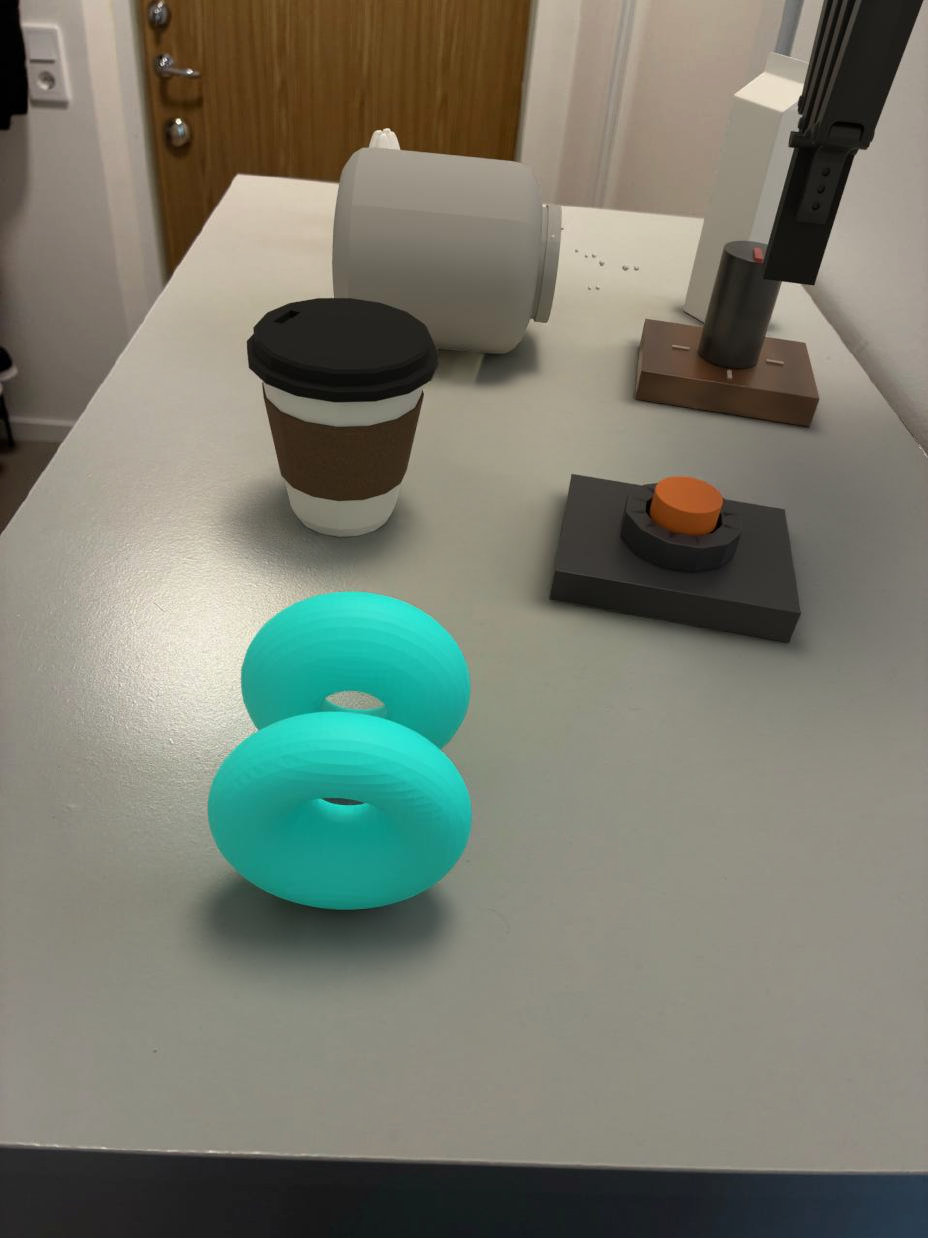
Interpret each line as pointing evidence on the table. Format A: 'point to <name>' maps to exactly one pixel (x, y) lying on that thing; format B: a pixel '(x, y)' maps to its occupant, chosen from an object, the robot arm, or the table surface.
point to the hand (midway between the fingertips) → (787, 276)
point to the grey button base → (676, 562)
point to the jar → (448, 244)
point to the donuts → (346, 756)
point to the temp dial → (738, 307)
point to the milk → (748, 171)
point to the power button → (686, 505)
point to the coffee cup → (342, 405)
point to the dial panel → (725, 376)
